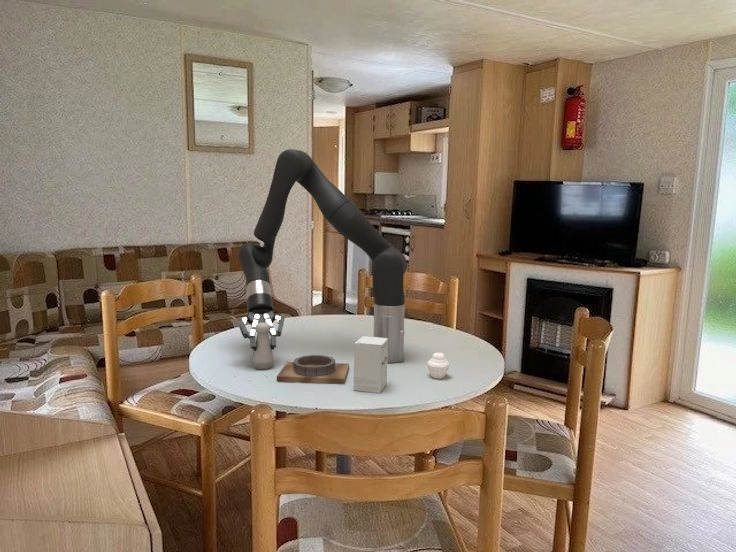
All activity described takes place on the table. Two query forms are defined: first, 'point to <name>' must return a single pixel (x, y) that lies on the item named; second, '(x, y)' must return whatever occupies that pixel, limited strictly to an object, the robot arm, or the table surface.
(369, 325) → the table surface
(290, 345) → the table surface
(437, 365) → the muffin
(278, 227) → the robot arm
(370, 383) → the supplement box
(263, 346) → the salt shaker
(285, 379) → the socket base
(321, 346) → the table surface
